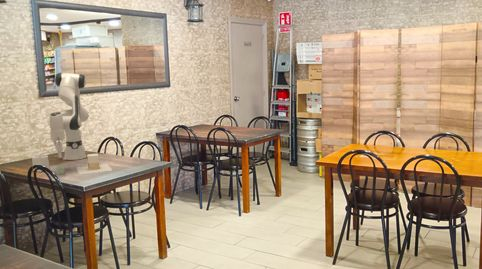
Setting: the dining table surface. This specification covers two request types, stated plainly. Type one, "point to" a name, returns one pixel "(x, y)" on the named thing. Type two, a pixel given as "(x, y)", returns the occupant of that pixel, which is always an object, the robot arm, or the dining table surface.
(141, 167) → the dining table surface
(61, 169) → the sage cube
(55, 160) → the dining table surface
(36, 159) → the toilet tissue
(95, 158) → the cream tower block
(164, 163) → the dining table surface
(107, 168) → the cream square board
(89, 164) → the oak tower block
